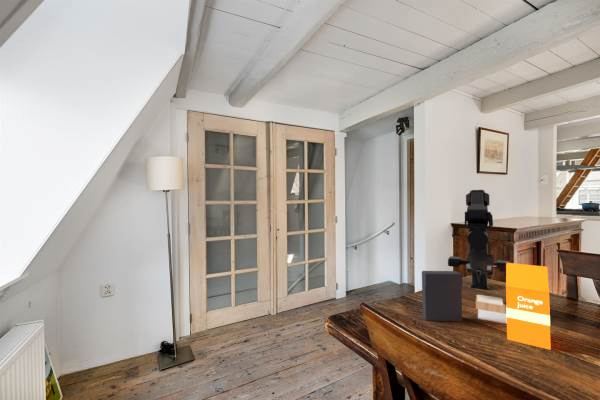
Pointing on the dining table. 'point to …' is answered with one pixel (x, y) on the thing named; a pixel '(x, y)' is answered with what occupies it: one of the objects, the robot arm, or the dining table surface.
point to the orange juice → (528, 304)
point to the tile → (490, 304)
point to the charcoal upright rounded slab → (442, 295)
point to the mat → (492, 316)
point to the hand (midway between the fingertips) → (478, 288)
